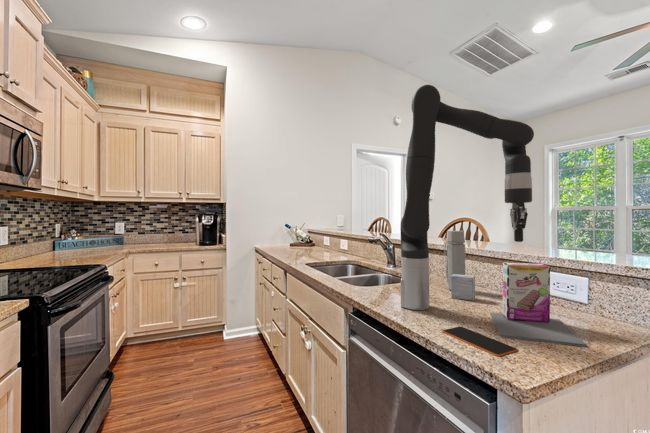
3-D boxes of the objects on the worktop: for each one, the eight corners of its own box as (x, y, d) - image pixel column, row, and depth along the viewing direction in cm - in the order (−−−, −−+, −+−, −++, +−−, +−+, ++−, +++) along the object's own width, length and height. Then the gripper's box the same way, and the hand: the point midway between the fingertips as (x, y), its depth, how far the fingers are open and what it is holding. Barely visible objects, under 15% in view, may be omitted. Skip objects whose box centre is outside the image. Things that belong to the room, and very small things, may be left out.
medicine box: (475, 298, 115) (475, 275, 115) (474, 301, 112) (473, 277, 112) (453, 295, 120) (452, 273, 120) (451, 298, 116) (450, 275, 116)
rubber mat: (500, 336, 79) (500, 334, 79) (490, 314, 96) (490, 312, 96) (586, 347, 72) (586, 344, 72) (559, 321, 90) (559, 319, 90)
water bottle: (464, 288, 131) (463, 230, 131) (467, 292, 124) (466, 231, 124) (441, 287, 134) (441, 230, 134) (442, 291, 126) (442, 231, 127)
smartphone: (498, 359, 67) (498, 355, 67) (441, 333, 82) (441, 330, 82) (520, 352, 71) (520, 348, 71) (461, 328, 86) (460, 325, 86)
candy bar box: (507, 320, 89) (506, 264, 89) (502, 315, 94) (501, 262, 94) (551, 323, 86) (550, 265, 86) (543, 317, 91) (542, 263, 91)
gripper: (537, 185, 91) (538, 243, 91) (526, 189, 103) (527, 240, 103) (508, 186, 93) (509, 243, 93) (501, 190, 106) (501, 239, 106)
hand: (518, 241), depth 98 cm, fingers closed
